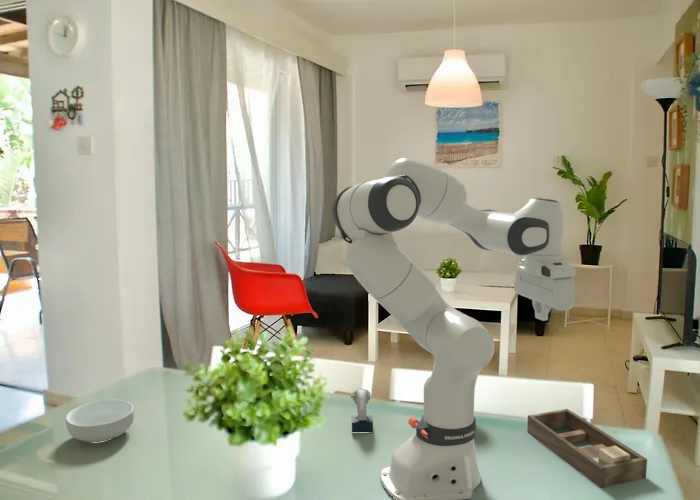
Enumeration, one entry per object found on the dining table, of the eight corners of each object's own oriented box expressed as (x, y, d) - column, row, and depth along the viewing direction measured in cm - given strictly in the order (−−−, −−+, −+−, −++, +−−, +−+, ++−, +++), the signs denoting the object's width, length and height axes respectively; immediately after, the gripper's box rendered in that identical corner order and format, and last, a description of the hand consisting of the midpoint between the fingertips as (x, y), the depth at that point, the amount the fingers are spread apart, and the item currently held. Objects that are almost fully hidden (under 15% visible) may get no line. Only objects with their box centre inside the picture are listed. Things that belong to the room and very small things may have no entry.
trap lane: (600, 487, 133) (601, 468, 132) (527, 431, 159) (527, 415, 158) (645, 477, 136) (647, 459, 135) (566, 424, 163) (567, 408, 162)
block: (612, 473, 135) (613, 458, 134) (598, 463, 139) (599, 448, 138) (629, 469, 136) (629, 454, 136) (614, 459, 140) (615, 445, 140)
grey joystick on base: (371, 422, 167) (371, 384, 165) (373, 436, 159) (372, 396, 157) (351, 423, 167) (350, 384, 165) (351, 437, 159) (350, 397, 157)
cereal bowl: (132, 447, 156) (130, 421, 155) (62, 456, 153) (59, 429, 151) (138, 419, 173) (136, 395, 172) (75, 426, 169) (72, 402, 168)
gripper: (508, 258, 158) (507, 310, 160) (557, 273, 139) (555, 332, 141) (529, 256, 160) (528, 307, 162) (580, 270, 140) (578, 329, 143)
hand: (541, 319), depth 151 cm, fingers closed
